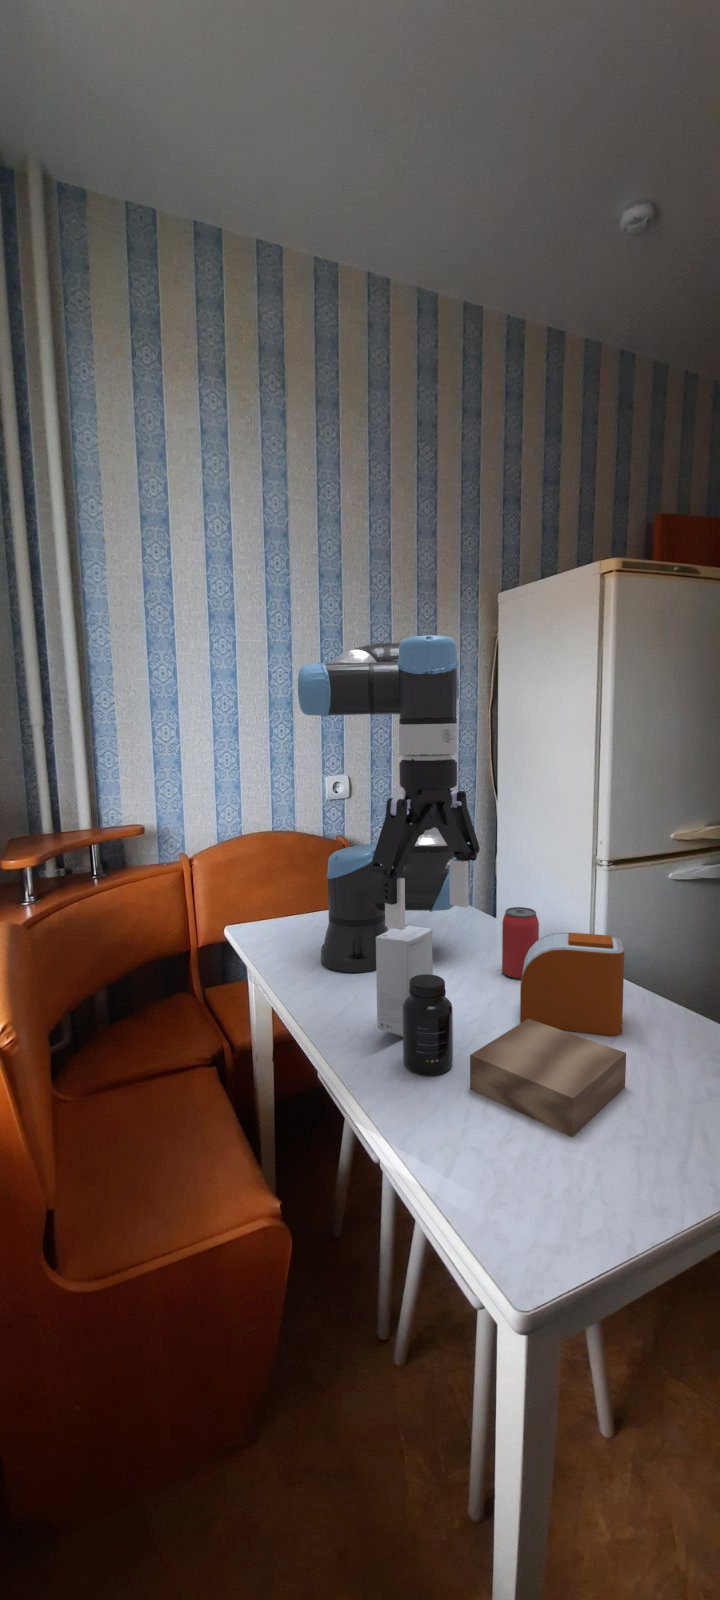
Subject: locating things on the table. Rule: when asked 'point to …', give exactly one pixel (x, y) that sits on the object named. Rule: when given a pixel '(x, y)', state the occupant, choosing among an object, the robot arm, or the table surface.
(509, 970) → the beer can
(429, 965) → the skincare box
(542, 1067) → the walnut block
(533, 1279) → the table surface
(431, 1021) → the supplement bottle
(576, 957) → the alarm clock
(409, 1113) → the table surface
